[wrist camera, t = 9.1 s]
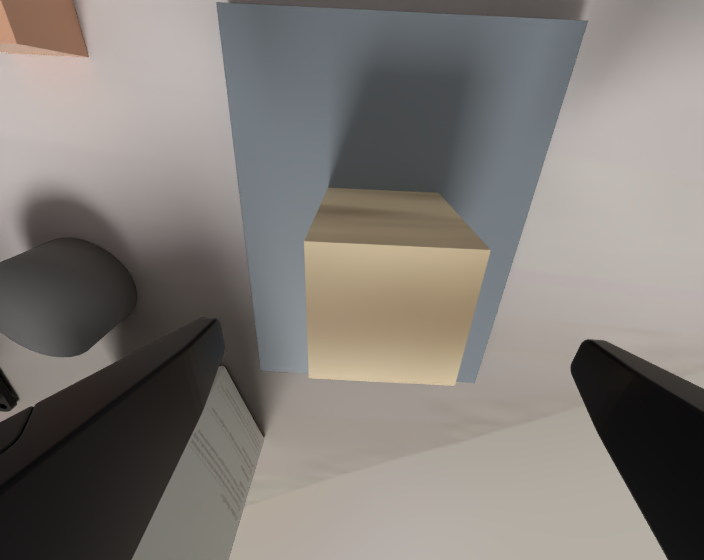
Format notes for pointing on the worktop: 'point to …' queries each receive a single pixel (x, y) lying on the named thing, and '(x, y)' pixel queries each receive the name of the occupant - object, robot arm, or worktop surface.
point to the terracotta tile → (40, 28)
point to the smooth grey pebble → (63, 296)
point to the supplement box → (207, 483)
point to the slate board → (385, 135)
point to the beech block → (390, 287)
